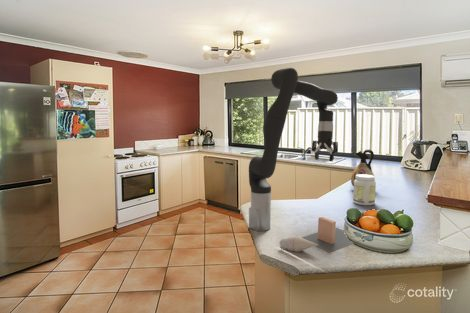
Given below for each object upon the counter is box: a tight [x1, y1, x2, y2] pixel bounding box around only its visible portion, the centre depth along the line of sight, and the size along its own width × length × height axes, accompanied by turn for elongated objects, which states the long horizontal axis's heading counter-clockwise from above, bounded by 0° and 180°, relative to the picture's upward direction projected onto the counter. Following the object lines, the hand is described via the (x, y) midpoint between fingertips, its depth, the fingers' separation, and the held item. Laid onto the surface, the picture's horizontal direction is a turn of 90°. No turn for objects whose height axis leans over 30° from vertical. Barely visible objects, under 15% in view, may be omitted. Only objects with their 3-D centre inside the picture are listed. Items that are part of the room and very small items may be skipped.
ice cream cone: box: [279, 235, 318, 253], centre depth 111 cm, size 6×6×15 cm
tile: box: [317, 216, 337, 244], centre depth 120 cm, size 2×7×9 cm, turn 34°
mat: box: [300, 227, 355, 254], centre depth 123 cm, size 24×16×1 cm, turn 124°
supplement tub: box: [352, 174, 377, 206], centre depth 177 cm, size 12×12×17 cm
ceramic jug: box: [350, 149, 376, 187], centre depth 206 cm, size 17×15×30 cm
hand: (323, 160), depth 157 cm, fingers open, 8 cm apart
